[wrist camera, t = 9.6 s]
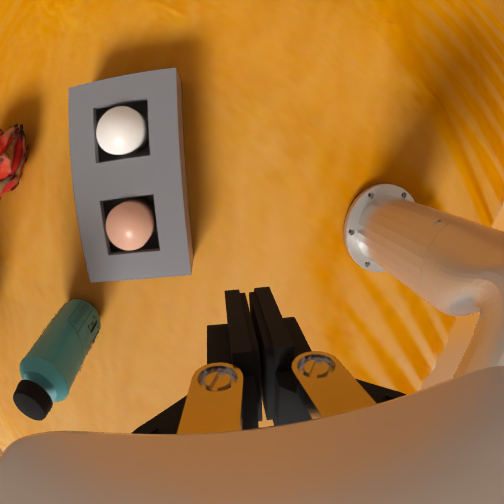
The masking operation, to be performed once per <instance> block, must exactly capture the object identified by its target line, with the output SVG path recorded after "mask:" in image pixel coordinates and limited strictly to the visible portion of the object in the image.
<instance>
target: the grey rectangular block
mask: <svg viewBox="0 0 504 504" xmlns="http://www.w3.org/2000/svg"><path fill="white" fill-rule="evenodd" d="M118 106H126V107H129V108H132V109H133V110H135V111H137V112H139V113H140V114H142V115H143V116H144V117H145V118H146V119H147V121H148V127H149V139H148V141H147V143H146V145H145V146H144V147H143V148H142V149H141V150H139V151H138V152H136V153H133V154H127V155H115V154H110V153H108V152H106V151H104V150H103V149H102V148H101V146H100V145H99V143H98V141H97V137H96V130H97V125H98V122H99V120H100V119H101V117H102V116H103V115H104V114H105V113H106V112H107V111H108V110H110V109H112V108H114V107H118ZM69 140H70V156H71V168H72V179H73V188H74V196H75V204H76V211H77V218H78V224H79V230H80V236H81V242H82V247H83V252H84V257H85V262H86V267H87V271H88V276H89V280H90V283H92V282H106V281H120V280H134V279H147V278H160V277H173V276H185V275H191V272H192V265H193V259H194V255H193V246H192V237H191V227H190V216H189V205H188V193H187V181H186V167H185V152H184V134H183V114H182V86H181V79H180V76H179V74H178V71H177V68H168V69H160V70H153V71H146V72H140V73H134V74H128V75H123V76H118V77H113V78H108V79H103V80H99V81H95V82H91V83H86V84H82V85H79V86H75V87H71V88H69ZM131 198H142V199H145V200H147V201H148V202H149V203H151V204H152V206H153V207H154V209H155V214H156V222H157V226H156V228H155V230H154V232H153V233H152V235H151V236H150V238H149V239H148V240H147V242H146V243H145V244H144V245H143V246H142V247H140V248H138V249H136V250H129V251H128V250H123V249H120V248H118V247H117V246H115V245H114V244H113V243H112V242H111V241H110V239H109V237H108V235H107V232H106V220H107V217H108V215H109V213H110V212H111V210H112V209H113V208H114V207H116V206H118V205H119V204H121V203H123V202H124V201H126V200H128V199H131Z"/></svg>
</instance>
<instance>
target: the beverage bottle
mask: <svg viewBox="0 0 504 504" xmlns="http://www.w3.org/2000/svg"><path fill="white" fill-rule="evenodd" d="M59 310H60V311H58V313H57V315H56V316H55V317H54V318H52V319H51V320H52V321H51V320H50V321H51V322H50V324H49V325H48V324H47V325H48V326H47V328H46V329H45V328H44V329H45V330H44V332H43V331H42V332H43V333H41V334H42V335H41V336H40V337H39V339H38V340H37V341H36V343H35V344H34V345H33V347H32V348H31V350H30V351H29V352H28V354H27V355H26V356H25V358H23V360H22V361H21V363H20V374H21V377H22V379H23V380H21V381H20V382H19V384H18V386H17V389H16V391H15V393H14V395H13V400H14V403H15V404H16V406H17V407H18V409H19V410H20V411H21V412H22V413H23V414H25V415H26V416H28V417H29V418H32V419H34V420H43V419H44V418H45V417H46V416H47V414H48V412H49V411H50V410H51V408H52V405H53V402H59V401H62V400H64V399H65V398H66V397H67V396H68V394H69V390H70V388H71V386H72V383H73V381H74V379H75V377H76V375H77V373H78V371H79V370H80V367H81V365H82V363H83V361H84V359H85V357H86V355H87V353H88V351H90V350H91V349H90V347H91V345H92V343H94V342H95V338H96V336H97V334H98V333H99V329H101V328H100V324H101V323H100V317H99V314H98V312H97V311H96V309H95V308H94V307H93V306H92V305H91V304H89V303H88V302H86V301H84V300H81V299H73V300H70V301H68V302H67V303H65V305H63V307H62V308H61V309H59ZM91 348H92V347H91ZM89 349H90V350H89ZM81 368H82V367H81Z"/></svg>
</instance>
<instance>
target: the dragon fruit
mask: <svg viewBox="0 0 504 504" xmlns="http://www.w3.org/2000/svg"><path fill="white" fill-rule="evenodd" d="M17 126H18V125H17V124H16V125H14V126H12V127H10V128H8V129H7V130H6V131H5V132H4V133H3V131H2V130H1V129H0V199H1V195H2V194H3V193H5V192H8V191H12V190H14V189H15V188H16V187H17V186H18V184H19V176H20V175H21V172H22V170H23V167H24V163H25V162H26V160H27V154H28V149H29V147H28V145H27V147H26V146H25V134H24V131H23V130H22V129H23V124H22V125H20V130H19V128H18V127H17Z"/></svg>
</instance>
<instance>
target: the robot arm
mask: <svg viewBox="0 0 504 504" xmlns="http://www.w3.org/2000/svg"><path fill="white" fill-rule="evenodd" d="M368 194H369V196H368ZM349 230H350V232H349ZM344 242H345V245H346V249H347V251H348V253H349V255H350V256H351V258H352V259H353V260H354V261H355V262H356V263H357V264H358V265H359V266H361V267H362V268H364V269H366V270H369V271H372V272H384V271H387V272H388V273H389V274H391V275H392V276H394V277H395V278H396V279H398V280H399V281H400V282H402V283H403V284H404V285H406V286H407V287H408V288H410V289H411V290H412V291H414V292H415V293H416V294H418V295H419V296H420V297H421V298H423V299H424V300H425V301H427V302H428V303H430V304H431V305H432V306H433V307H435V308H436V309H437V310H439V311H441V312H442V313H445V314H447V315H452V316H464V315H470V314H474V313H477V312H480V316H479V320H478V322H477V325H476V328H475V330H474V334H473V337H472V339H471V341H470V343H469V346H468V348H467V350H466V352H465V354H464V356H463V358H462V360H461V362H460V364H459V366H458V368H457V370H456V373H455V374H454V377H453V378H452V379H450V380H447V381H445V382H442V383H439V384H436V385H434V386H431V387H428V388H426V389H422V390H420V391H417V392H414V393H411V394H408V395H406V394H404V393H401V392H398V391H395V390H391V389H387V388H384V387H381V386H377V385H374V384H370V383H367V382H364V381H361V380H357V379H355V378H354V377H353V376H352V375H351V374H350V373H349V371H348V370H347V369H346V368H345V367H344V366H343V365H342V364H341V362H340V361H339V360H338V359H337V358H336V357H334V356H333V355H331V354H329V353H325V352H321V351H311V349H310V347H309V345H308V343H307V341H306V339H305V337H304V335H303V333H302V331H301V329H300V327H299V325H298V323H297V321H296V319H295V318H294V317H288V318H282V316H281V313H280V311H279V309H278V306H277V304H276V302H275V299H274V297H273V295H272V292H271V290H270V288H269V287H261V288H254V292H249V301H250V311H249V307H248V303H247V299H246V295H245V293H240V292H239V290H228V291H225V300H226V311H227V322H228V324H220V325H208V326H207V365H205V366H203V367H201V368H199V369H198V370H197V371H196V372H195V373H194V375H193V377H192V380H191V384H190V387H189V391H188V394H187V396H185V397H184V398H182V399H181V400H179V401H178V402H176V403H175V404H173V405H172V406H170V407H169V408H167V409H166V410H164V411H163V412H161V413H160V414H158V415H157V416H155V417H154V418H152V419H151V420H149V421H148V422H146V423H145V424H143V425H142V426H140V427H138V428H137V429H136V430H135V431H133V432H132V433H131V434H128V433H104V432H88V431H53V432H44V433H38V434H32V435H29V436H25V437H22V438H20V439H17V440H16V441H14V442H12V443H11V444H10V445H9V446H8V447H7V448H6V449H5V450H4V452H3V453H2V454H1V456H0V504H504V232H503V231H499V230H497V229H493V228H491V227H487V226H484V225H481V224H478V223H476V222H473V221H470V220H467V219H464V218H462V217H459V216H456V215H453V214H450V213H447V212H444V211H441V210H438V209H435V208H431V207H428V206H425V205H422V204H419V203H416V202H415V200H414V199H413V197H412V196H411V195H410V194H409V193H408V192H407V191H406V190H405V189H403V188H402V187H399V186H397V185H393V184H377V185H373V186H371V187H369V188H367V189H366V190H364V191H363V192H362V193H360V194H359V195H358V196H357V198H356V199H355V200H354V201H353V203H352V204H351V206H350V208H349V210H348V213H347V215H346V219H345V223H344ZM261 396H262V397H261ZM262 401H263V405H264V409H265V414H266V418H267V420H272V419H273V422H274V426H270V427H263V428H258V421H262Z"/></svg>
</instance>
